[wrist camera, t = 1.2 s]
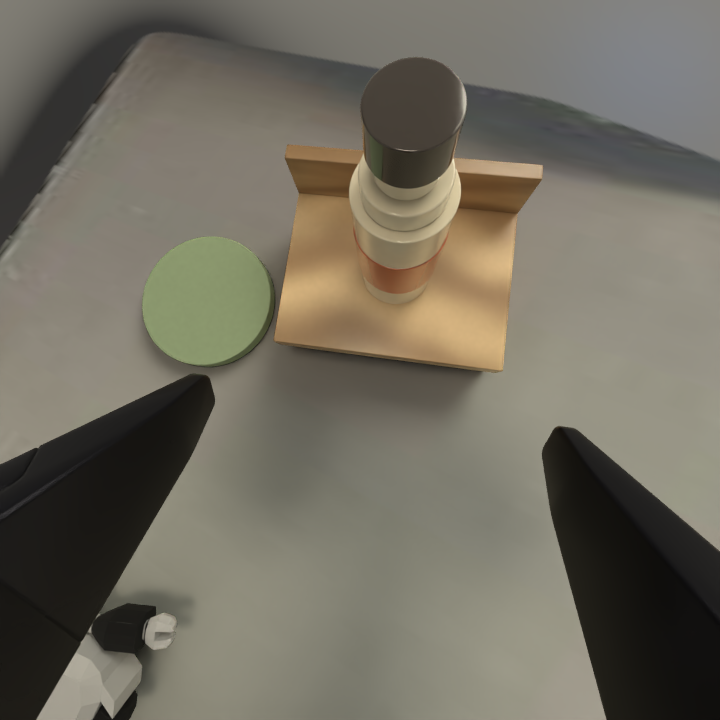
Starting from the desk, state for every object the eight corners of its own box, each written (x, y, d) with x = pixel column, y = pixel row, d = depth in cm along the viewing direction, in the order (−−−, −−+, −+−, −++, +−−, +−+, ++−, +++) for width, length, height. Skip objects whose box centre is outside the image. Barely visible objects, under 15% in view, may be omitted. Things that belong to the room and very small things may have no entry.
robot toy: (211, 589, 22) (26, 469, 23) (173, 641, 17) (-57, 490, 18) (106, 764, 21) (-83, 634, 22) (37, 866, 17) (-199, 698, 17)
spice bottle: (393, 319, 19) (407, 210, 8) (346, 268, 20) (300, 102, 9) (446, 273, 19) (531, 103, 8) (399, 223, 20) (418, 3, 9)
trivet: (201, 393, 23) (192, 393, 22) (127, 298, 24) (116, 294, 23) (301, 308, 23) (297, 303, 22) (223, 218, 24) (216, 210, 23)
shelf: (483, 375, 22) (526, 365, 15) (289, 350, 23) (253, 330, 16) (498, 231, 23) (543, 164, 16) (312, 213, 24) (286, 143, 17)
